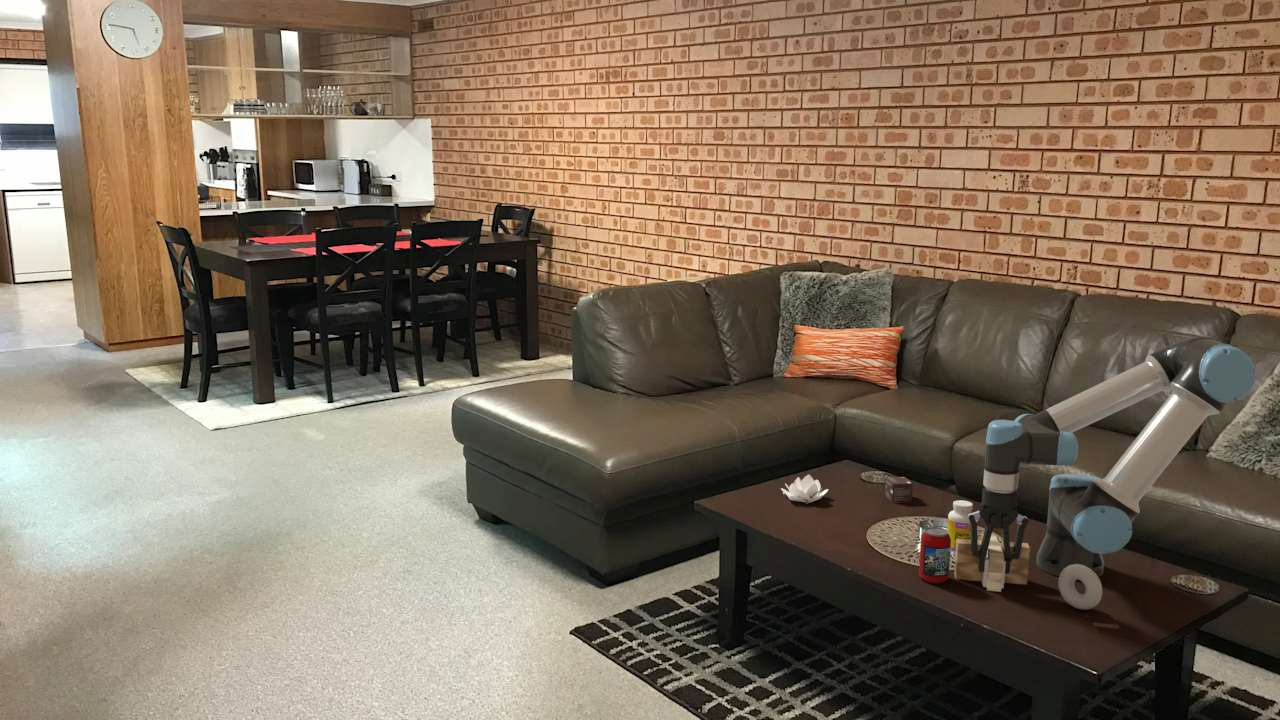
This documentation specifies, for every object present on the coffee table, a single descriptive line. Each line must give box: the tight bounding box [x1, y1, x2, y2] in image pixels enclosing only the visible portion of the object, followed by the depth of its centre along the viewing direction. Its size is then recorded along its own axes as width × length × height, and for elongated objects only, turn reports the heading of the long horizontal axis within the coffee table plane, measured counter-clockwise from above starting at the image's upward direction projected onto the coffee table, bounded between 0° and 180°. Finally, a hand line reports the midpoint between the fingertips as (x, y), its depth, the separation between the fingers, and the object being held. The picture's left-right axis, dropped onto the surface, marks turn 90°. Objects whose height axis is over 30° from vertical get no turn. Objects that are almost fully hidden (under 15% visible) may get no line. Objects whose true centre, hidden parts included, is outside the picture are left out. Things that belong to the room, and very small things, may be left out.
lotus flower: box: [780, 473, 829, 504], centre depth 298 cm, size 14×15×9 cm
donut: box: [1057, 564, 1103, 611], centre depth 230 cm, size 10×4×10 cm, turn 35°
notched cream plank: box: [980, 532, 1004, 593], centre depth 246 cm, size 14×3×9 cm, turn 170°
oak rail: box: [954, 539, 1031, 585], centre depth 246 cm, size 16×3×9 cm, turn 80°
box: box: [884, 476, 914, 504], centre depth 299 cm, size 6×6×7 cm
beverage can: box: [918, 526, 951, 584], centre depth 245 cm, size 7×7×12 cm
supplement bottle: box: [946, 499, 974, 555], centre depth 263 cm, size 7×7×13 cm
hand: (992, 585), depth 242 cm, fingers closed on notched cream plank, 3 cm apart
